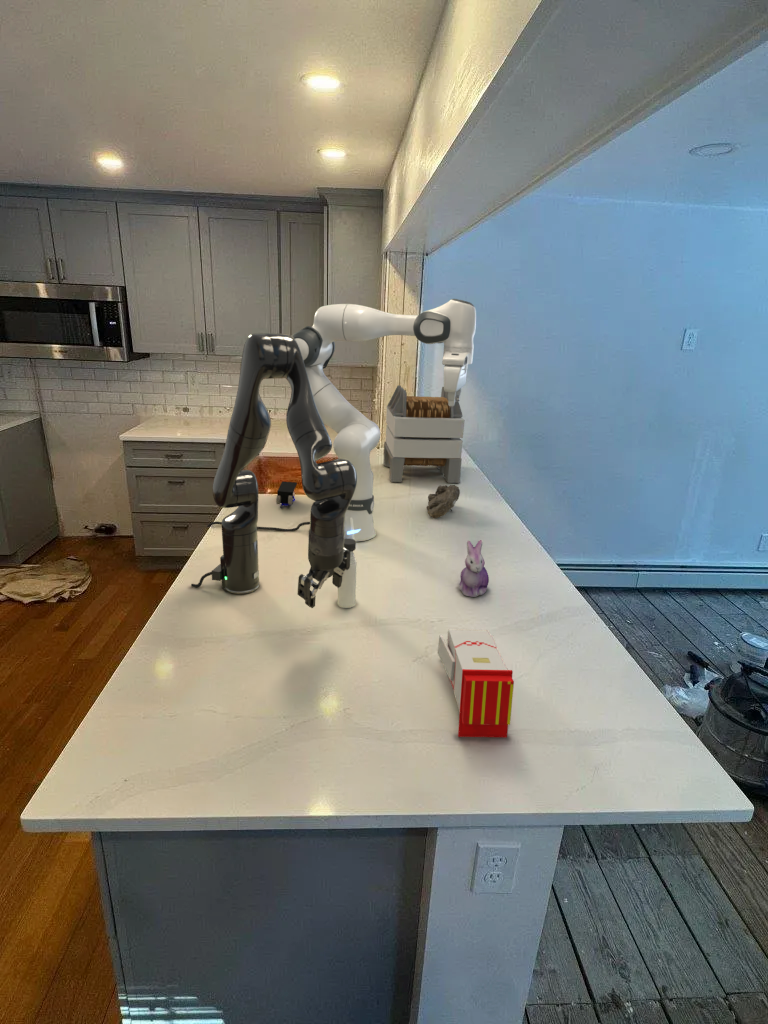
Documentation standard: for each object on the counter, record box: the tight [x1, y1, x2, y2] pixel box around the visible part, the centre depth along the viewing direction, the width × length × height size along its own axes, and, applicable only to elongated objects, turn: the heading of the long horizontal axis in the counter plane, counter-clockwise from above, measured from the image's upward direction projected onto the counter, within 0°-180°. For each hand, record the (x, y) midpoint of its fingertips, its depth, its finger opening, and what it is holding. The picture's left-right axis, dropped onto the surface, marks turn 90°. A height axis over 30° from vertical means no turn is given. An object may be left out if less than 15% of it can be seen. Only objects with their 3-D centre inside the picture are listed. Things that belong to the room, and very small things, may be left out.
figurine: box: [459, 539, 490, 598], centre depth 159 cm, size 9×10×15 cm
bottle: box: [337, 551, 358, 609], centre depth 149 cm, size 5×5×18 cm
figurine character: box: [275, 480, 298, 509], centre depth 223 cm, size 7×8×15 cm
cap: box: [344, 539, 357, 552], centre depth 146 cm, size 4×4×2 cm
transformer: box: [383, 384, 465, 484], centre depth 268 cm, size 34×33×41 cm
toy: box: [437, 628, 515, 738], centre depth 117 cm, size 12×13×30 cm
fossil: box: [426, 484, 461, 519], centre depth 223 cm, size 22×10×15 cm
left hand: (323, 595), depth 129 cm, fingers open, 8 cm apart
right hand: (454, 403), depth 174 cm, fingers open, 8 cm apart
